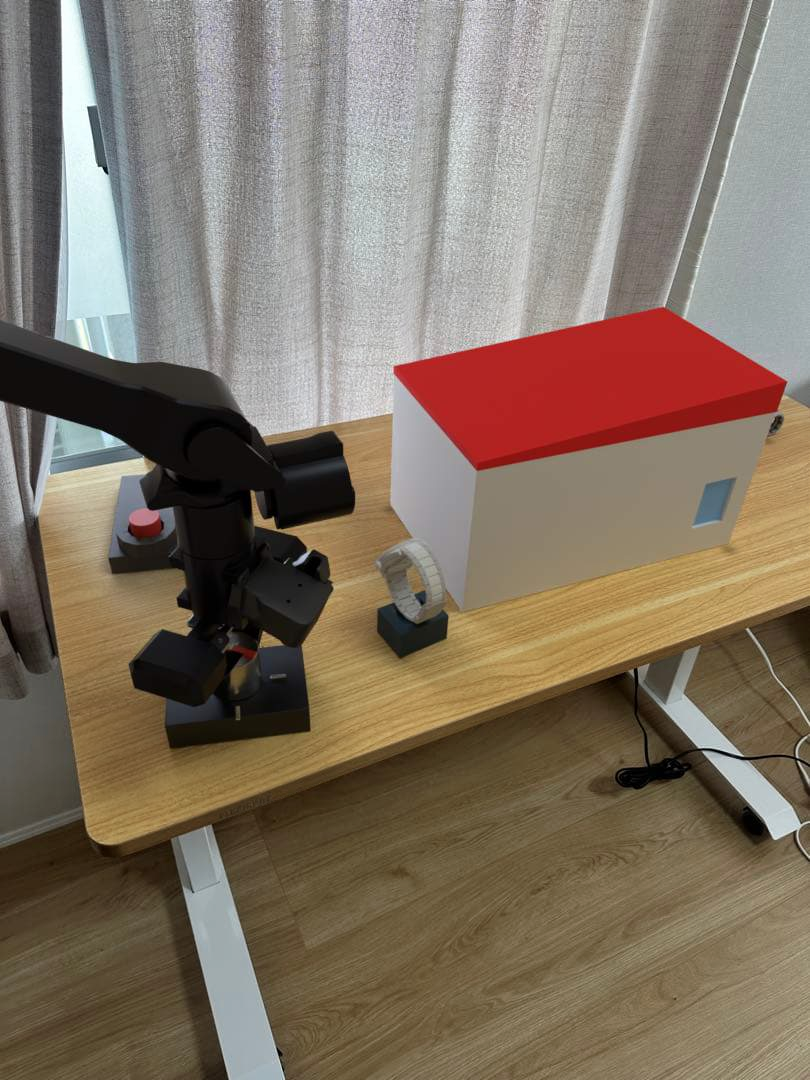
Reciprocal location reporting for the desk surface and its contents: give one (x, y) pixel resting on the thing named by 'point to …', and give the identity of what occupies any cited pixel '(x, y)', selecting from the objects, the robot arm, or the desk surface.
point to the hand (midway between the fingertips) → (236, 678)
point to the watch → (412, 599)
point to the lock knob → (244, 667)
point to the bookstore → (576, 452)
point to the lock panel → (248, 706)
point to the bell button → (145, 523)
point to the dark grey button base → (133, 550)
